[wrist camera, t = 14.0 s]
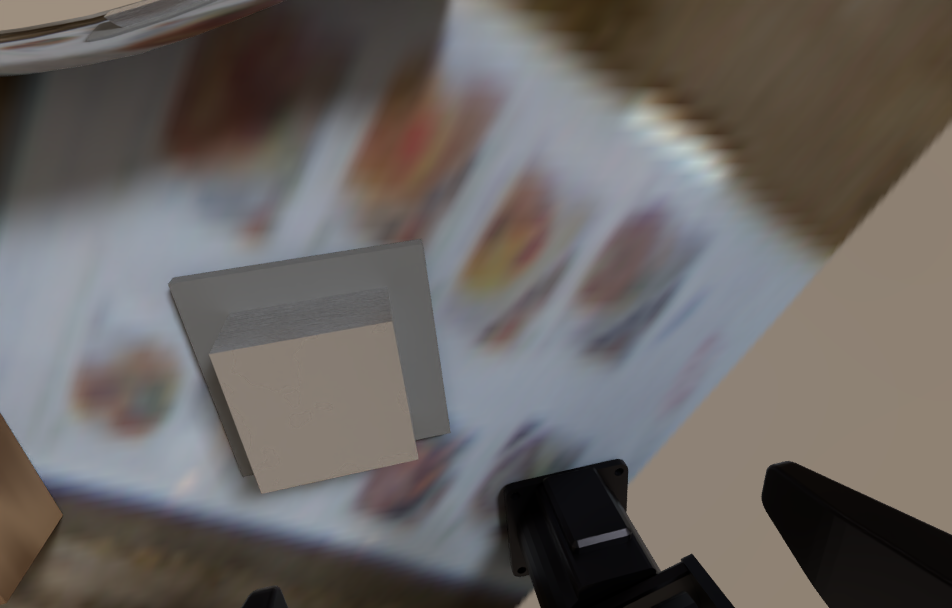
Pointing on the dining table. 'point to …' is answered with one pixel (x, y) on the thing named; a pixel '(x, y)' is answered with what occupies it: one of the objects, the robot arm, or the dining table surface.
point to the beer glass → (104, 29)
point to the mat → (317, 277)
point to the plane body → (21, 513)
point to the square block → (316, 388)
